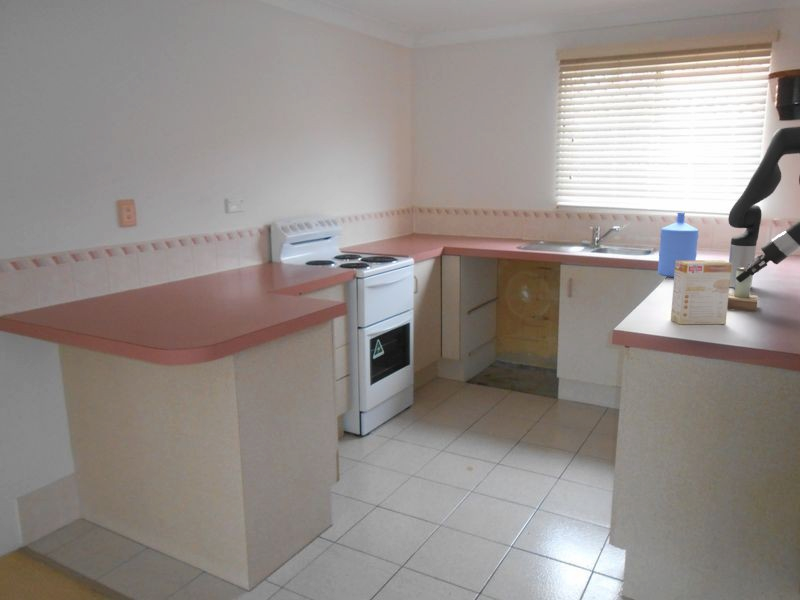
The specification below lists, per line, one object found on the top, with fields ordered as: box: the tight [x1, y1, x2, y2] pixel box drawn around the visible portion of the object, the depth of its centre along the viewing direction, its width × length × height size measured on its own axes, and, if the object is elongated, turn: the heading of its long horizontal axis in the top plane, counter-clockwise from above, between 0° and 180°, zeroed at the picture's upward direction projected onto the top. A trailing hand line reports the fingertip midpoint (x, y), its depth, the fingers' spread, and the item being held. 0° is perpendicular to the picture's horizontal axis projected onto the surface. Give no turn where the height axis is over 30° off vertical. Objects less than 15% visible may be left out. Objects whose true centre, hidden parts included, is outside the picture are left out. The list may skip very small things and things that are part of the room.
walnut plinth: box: [727, 292, 758, 313], centre depth 230 cm, size 10×10×4 cm
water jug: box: [657, 212, 699, 278], centre depth 296 cm, size 16×16×28 cm
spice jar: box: [733, 267, 752, 298], centre depth 229 cm, size 5×5×10 cm
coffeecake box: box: [670, 259, 732, 325], centre depth 207 cm, size 15×7×20 cm, turn 92°
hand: (738, 278), depth 229 cm, fingers open, 7 cm apart
